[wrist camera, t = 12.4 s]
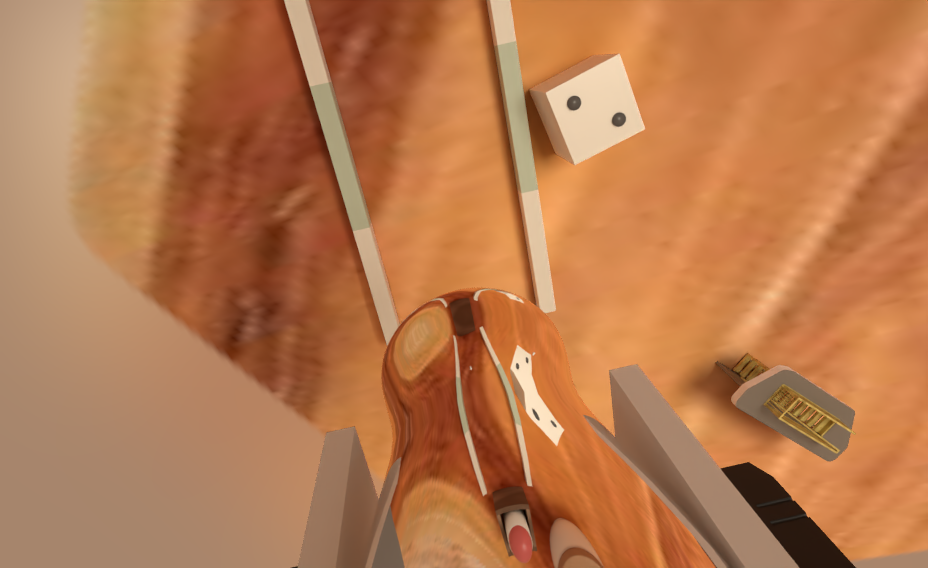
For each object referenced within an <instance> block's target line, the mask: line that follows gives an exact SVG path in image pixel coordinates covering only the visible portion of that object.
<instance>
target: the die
mask: <svg viewBox="0 0 928 568" xmlns="http://www.w3.org/2000/svg"><path fill="white" fill-rule="evenodd" d="M529 91H530V94H531V96H532V98H533V101H534V103H535V106H536V108H537V110H538V113H539V115H540V118H541V120H542V122H543V125H544V127H545V130H546V132H547V134H548V137H549V139H550V142H551V144H552V146H553V149H554V151H555V154H557V155H558V156H560V157H562V158H564V159H565V160H567V161H569V162H570V163H572V164H574V165H576V164H578V163H580V162H582V161H584V160H586V159H588V158H590V157H592V156H594V155H596V154H598V153H600V152H602V151H604V150H605V149H607V148H609V147H611V146H613V145H615V144H617V143H619V142H621V141H623V140H625V139H627V138H629V137H631V136H633V135H635V134H637V133H639V132H641V131H643V130H645V127H644V124H643V121H642V118H641V115H640V112H639V109H638V106H637V104H636V101H635V98H634V95H633V92H632V89H631V86H630V83H629V80H628V77H627V74H626V71H625V68H624V65H623V62H622V59H621V56H620V54H605V55H593V56H591V57H589V58H587V59H585V60H583V61H582V62H580V63H578V64H576V65H574V66H572V67H570V68H568V69H566V70H565V71H563V72H561V73H559V74H557V75H555V76H553V77H551V78H549V79H548V80H546V81H544V82H542V83H540V84H538V85H536V86H534V87H533V88H531V89H529Z"/></svg>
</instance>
